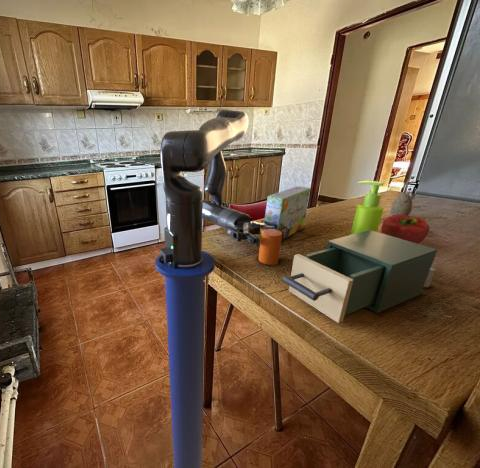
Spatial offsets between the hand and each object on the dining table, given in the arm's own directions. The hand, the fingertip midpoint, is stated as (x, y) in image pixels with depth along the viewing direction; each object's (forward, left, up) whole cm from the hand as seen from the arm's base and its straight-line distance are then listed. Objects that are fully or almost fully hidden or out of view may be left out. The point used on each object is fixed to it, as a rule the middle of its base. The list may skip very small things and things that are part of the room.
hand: (270, 238), depth 69 cm
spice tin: (0, 0, -7) cm, 7 cm away
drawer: (-3, -20, -6) cm, 21 cm away
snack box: (+19, +13, -7) cm, 24 cm away
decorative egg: (+69, +5, -7) cm, 69 cm away
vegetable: (+41, -10, -7) cm, 43 cm away
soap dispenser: (+28, -6, -7) cm, 29 cm away
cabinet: (+10, -20, -7) cm, 23 cm away
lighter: (+23, -22, -7) cm, 33 cm away
